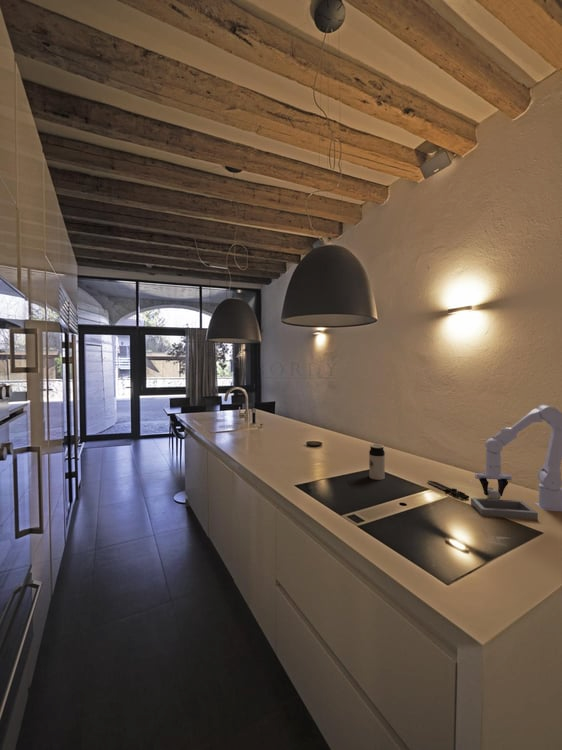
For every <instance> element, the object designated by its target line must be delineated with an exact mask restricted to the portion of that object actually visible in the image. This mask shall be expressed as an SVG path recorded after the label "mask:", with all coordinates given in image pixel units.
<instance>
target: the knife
mask: <svg viewBox="0 0 562 750" xmlns="http://www.w3.org/2000/svg"><path fill="white" fill-rule="evenodd" d="M427 482H428V483H429V484H431V485H434V486H436V487H438V488H440V489H441V490H445V493H449V494H450V495H452V496H453V497H456V498H459V499H462V500H466V499H467V500H468V499H470V496H469V495H468V494H466V493H465V492H463V491H459V490H457V488H451V487H448V486H446V485H443V484H441V483H440V482H437V481H434V480H427Z"/></svg>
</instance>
